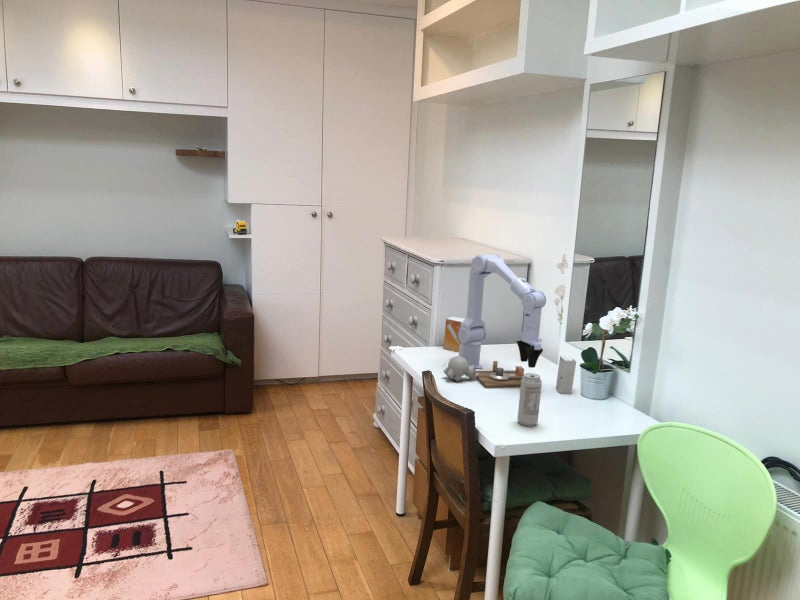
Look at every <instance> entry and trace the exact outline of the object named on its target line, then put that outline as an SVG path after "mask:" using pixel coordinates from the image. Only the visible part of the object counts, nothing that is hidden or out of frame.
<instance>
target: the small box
mask: <svg viewBox="0 0 800 600" xmlns="http://www.w3.org/2000/svg"><path fill="white" fill-rule="evenodd" d="M465 319H466V318H463V317H457V316H450V317H447V318H446V319H445V326H444V327H445V328H444V329H445V330H444V340H443V349H444V350H449V351H452V350H453V352H456V351H457V353H459V347H460V344H461V341H460V340H459V337H458V332H459V329H460V326H461V323H462V322H463V321H464V320H465Z"/></svg>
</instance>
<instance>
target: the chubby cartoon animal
mask: <svg viewBox="0 0 800 600" xmlns="http://www.w3.org/2000/svg"><path fill="white" fill-rule="evenodd" d="M473 366H474V364H473V365H472V366H468V362H467V360H466V359H465V358H463V357H461V356H459V355H455V356H453V357H452V358H450V359H449V362H448V364H447V367H446V368H445V369H444V370H443V374H445V375H446V377H448V378H449V379H452V380H454V381H455V382H461V380H462V376H465V377H468V378H469V380H471V381H475V380H477V379H476V377H477V376H478V375H479V372H478V374H476V373H475V372H476V371H477V370H476V369H477V368H476V367H473Z"/></svg>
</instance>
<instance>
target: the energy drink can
mask: <svg viewBox="0 0 800 600" xmlns="http://www.w3.org/2000/svg"><path fill="white" fill-rule="evenodd" d="M542 384H543V382H542V379H541V375H539V374H536V373H533V372H532V373H531V372H527V373H524V376H523V378H522V379H521V388H519V389H520V390H519V400H518V409H517V421H518V423H519V424H520V425H522V426H524V427H534V426H536V425H537V423H538V422H539V413H540V404H541V394H542Z"/></svg>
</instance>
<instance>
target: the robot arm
mask: <svg viewBox="0 0 800 600" xmlns="http://www.w3.org/2000/svg"><path fill="white" fill-rule="evenodd" d="M493 273H496V274H497V275H498V276H500V278H502V279H503V280H504V281H505V282H506V283H508V284H509V285H510V290H511V291H512V293H514V294H515V295H516V296H517V297H518V298H519V299H520V300H521V305H522V307H523V309H522V311H523V323H522V331H521V333H519V340H516V345H517V347H518V351H519V357H520V361H521V362H527V365H528V368H531V369H532V368H535V367H536V366H537V363H538V360H539V357H540V356H541V354H542V353H543V351H544V349H543V348H542V344H541V342H542V340H543V339H542V338H541V337H540V330H541V329H540V327H541V320H542V319H541V317H542V309H543V308H544V307H545V305H546V303H547V298H546V294H544V292H543V291H541V290H537V289H536V288H534V286H532V285H531V284H530V283H528V280H527V279H526V278H525V277H524V278H523V277H518V276H517V275H516V274H515V273H514V272H513V271H512V270H511V269H510V267H508V265H507V264H506V263H505V258H503V257H502V256H501V255H499V253H493V254H477V255H475V256H474V257H473V258H471V268H470V271H469V278H468V279H469V280H468V291H467V293H468V295H467V296H468V297H467V308H466V309H467V310H466V318H464V319H465V320H464V321H463V322H462V323H461V326H460V329H459V332H458V337H459V340H460V341H461V344H460V347H459V352H458V356H461V357H463V358H465V359H466V360H467V362H468V366H472V365H473V364H474V366H473V367H476V369H483V368H484V367H483V365H481V364H480V361H481V351H482V350H481V347H482V344H483V341H484V340H485V339H486V337H487V330H486V323H485V321H483V319H482V314H483V313H482V312H483V300H484V299H483V298H484V297H483V296H484V285H485V278H486V277H488V276H489V275H490V274H493Z"/></svg>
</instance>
